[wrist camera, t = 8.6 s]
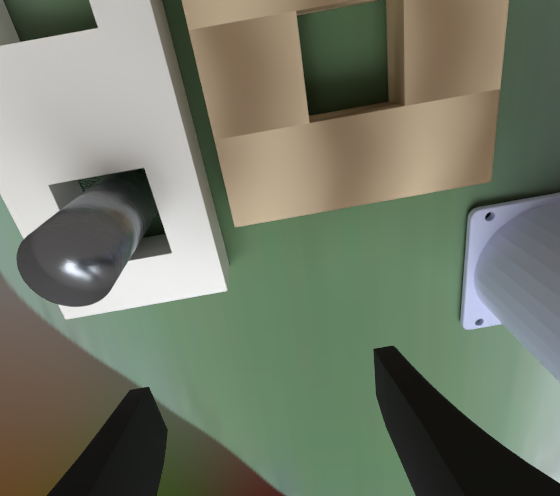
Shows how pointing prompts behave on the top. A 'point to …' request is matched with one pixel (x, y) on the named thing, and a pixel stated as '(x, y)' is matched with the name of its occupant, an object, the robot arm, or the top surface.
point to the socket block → (355, 121)
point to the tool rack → (110, 144)
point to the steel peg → (88, 240)
